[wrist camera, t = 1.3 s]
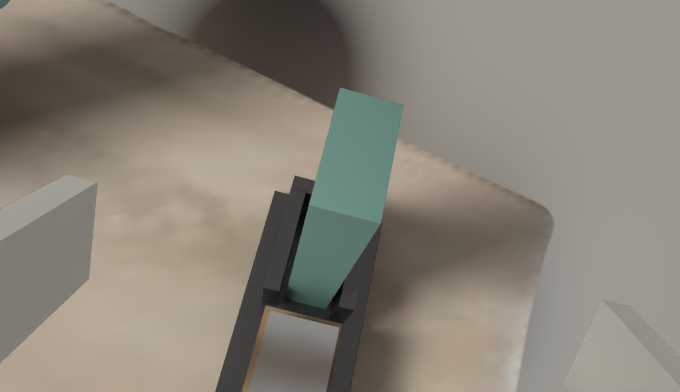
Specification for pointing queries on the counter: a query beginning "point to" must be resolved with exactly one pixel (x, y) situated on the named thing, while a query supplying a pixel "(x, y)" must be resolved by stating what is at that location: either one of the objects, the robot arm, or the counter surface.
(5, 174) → the counter surface
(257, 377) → the offcut top
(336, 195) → the plank
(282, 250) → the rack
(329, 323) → the block
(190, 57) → the counter surface
